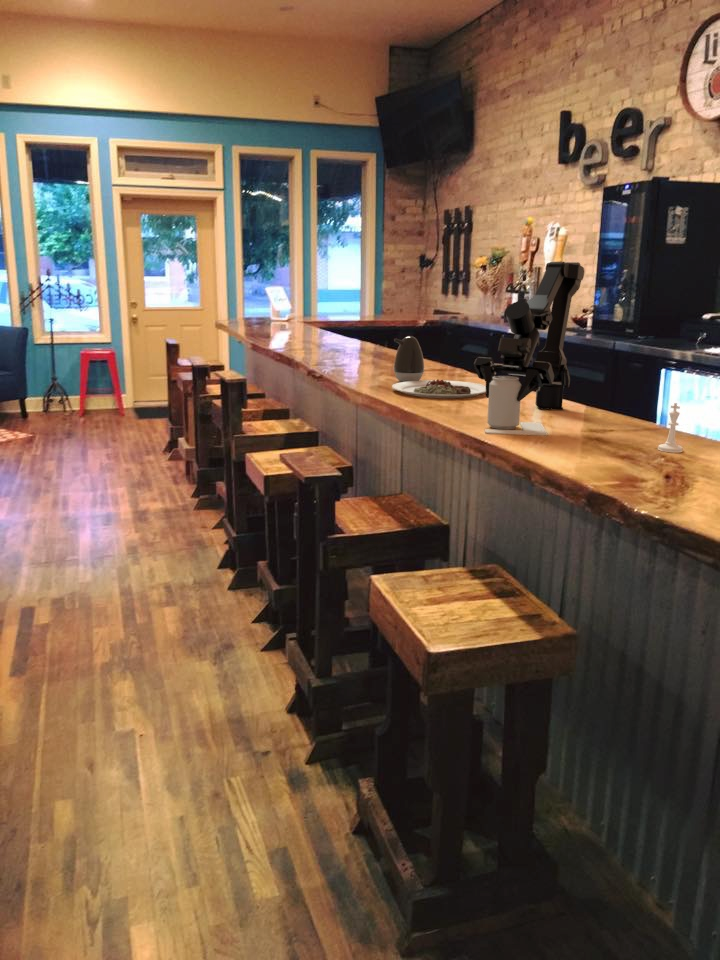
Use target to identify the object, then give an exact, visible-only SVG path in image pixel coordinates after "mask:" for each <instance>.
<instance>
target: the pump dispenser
mask: <svg viewBox="0 0 720 960" xmlns="http://www.w3.org/2000/svg"><path fill="white" fill-rule="evenodd" d="M393 341H394V343H397V344H399V346H398V348H397V350H396V353H395V356H394V364H393V372H394V375H395V378H396V380H398V381H399V382H407V381H420V380H421V379H422V377H423V374H424V372H425V361H424V360H425V359H424V355H423V351H422V347H421V346H420V343H419V341H418V339H417V338H416V337H414V336H413V335H407V336H405V337H404V338H403V339H398V338H397V337H396V338H394V339H393Z"/></svg>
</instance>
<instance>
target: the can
mask: <svg viewBox="0 0 720 960" xmlns="http://www.w3.org/2000/svg"><path fill="white" fill-rule="evenodd" d="M519 380H520V377H519V376H515V375H512V376H511V375H496V376H494V377H493V380H492V381H491V382H490V384H489V398H488V406H487V422H486V423H487V424H488V426H490V428H492V429H495V430H514V429H516V427H518V426H519V425H520V414H521V401H518V400H517V397H518V394H519V391H520V389H521V387H522V383H521V381H519Z"/></svg>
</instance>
